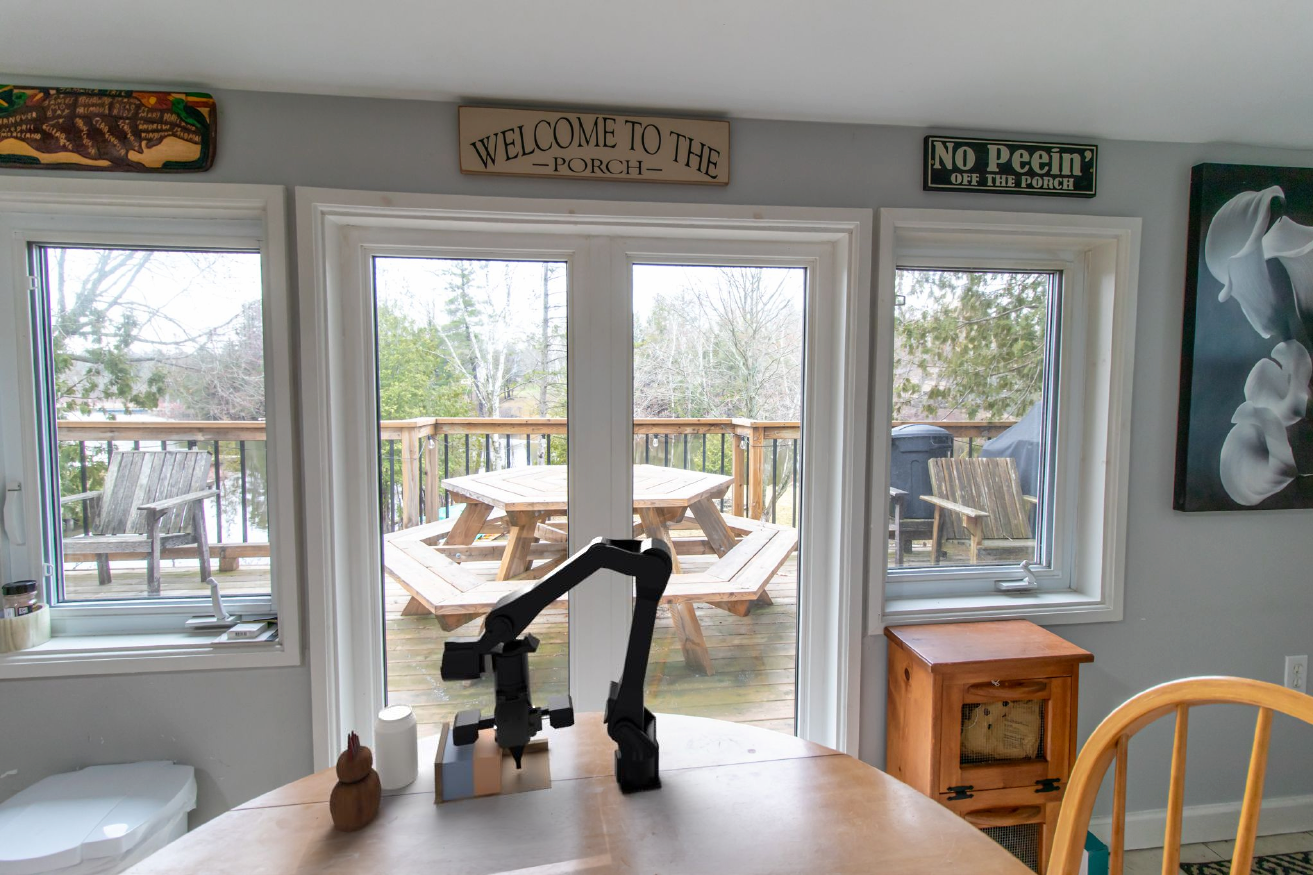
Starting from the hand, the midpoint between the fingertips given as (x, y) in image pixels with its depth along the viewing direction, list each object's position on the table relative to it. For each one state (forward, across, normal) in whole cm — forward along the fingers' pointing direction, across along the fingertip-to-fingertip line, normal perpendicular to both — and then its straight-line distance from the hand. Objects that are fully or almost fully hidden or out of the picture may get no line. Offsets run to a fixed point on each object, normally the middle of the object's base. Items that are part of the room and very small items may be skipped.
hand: (518, 767), depth 98 cm
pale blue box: (0, -9, 0) cm, 9 cm away
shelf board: (+2, -4, 0) cm, 4 cm away
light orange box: (0, -5, 0) cm, 5 cm away
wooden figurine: (+1, -23, -6) cm, 24 cm away
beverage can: (+1, -19, +3) cm, 19 cm away
